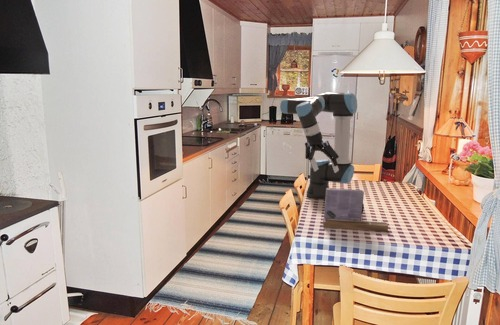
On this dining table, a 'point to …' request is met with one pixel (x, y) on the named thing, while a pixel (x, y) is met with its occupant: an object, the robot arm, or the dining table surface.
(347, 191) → the cake pan box
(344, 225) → the walnut board
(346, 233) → the dining table surface
